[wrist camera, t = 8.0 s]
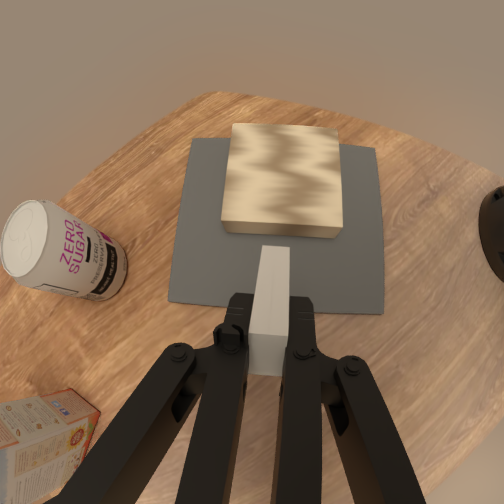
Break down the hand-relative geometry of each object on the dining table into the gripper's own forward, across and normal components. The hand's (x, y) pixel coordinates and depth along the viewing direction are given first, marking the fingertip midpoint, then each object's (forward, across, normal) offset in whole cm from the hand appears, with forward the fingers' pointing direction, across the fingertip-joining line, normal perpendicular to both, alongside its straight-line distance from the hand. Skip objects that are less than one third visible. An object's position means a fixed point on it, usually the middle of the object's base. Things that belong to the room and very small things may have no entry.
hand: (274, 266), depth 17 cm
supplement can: (+12, -22, -11) cm, 27 cm away
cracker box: (-5, -25, -28) cm, 38 cm away
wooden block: (+13, 0, -4) cm, 14 cm away
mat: (+17, 0, -5) cm, 18 cm away
